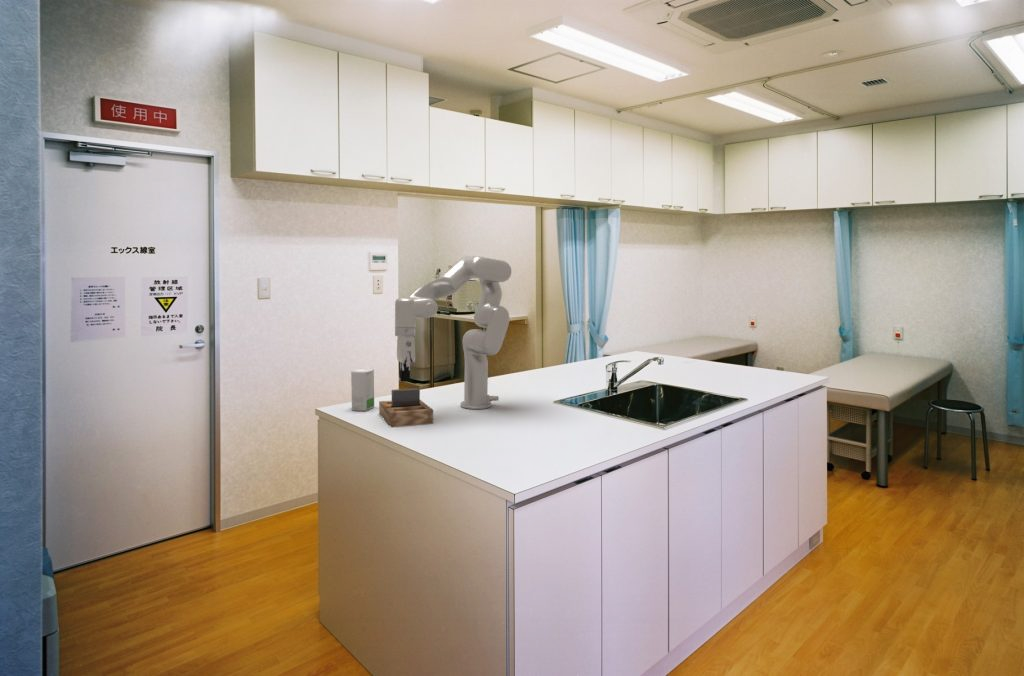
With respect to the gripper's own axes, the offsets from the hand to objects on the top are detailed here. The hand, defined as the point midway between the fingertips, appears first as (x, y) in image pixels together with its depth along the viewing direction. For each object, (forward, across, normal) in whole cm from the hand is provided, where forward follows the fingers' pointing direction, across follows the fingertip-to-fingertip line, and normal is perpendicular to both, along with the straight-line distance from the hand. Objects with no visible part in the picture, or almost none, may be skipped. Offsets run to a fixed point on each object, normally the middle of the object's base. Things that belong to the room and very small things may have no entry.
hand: (405, 380), depth 227 cm
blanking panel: (+12, 0, 0) cm, 12 cm away
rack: (+14, 0, 0) cm, 14 cm away
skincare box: (+15, +21, +12) cm, 28 cm away
